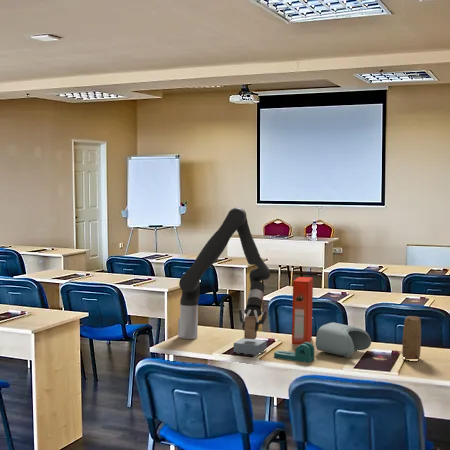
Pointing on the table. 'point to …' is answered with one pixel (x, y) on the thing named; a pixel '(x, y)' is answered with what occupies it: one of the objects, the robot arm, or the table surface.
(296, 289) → the file binder
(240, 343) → the slate block
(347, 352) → the grey hollow scoop
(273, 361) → the table surface
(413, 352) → the block
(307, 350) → the bracket
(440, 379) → the table surface
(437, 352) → the table surface
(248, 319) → the walnut block
